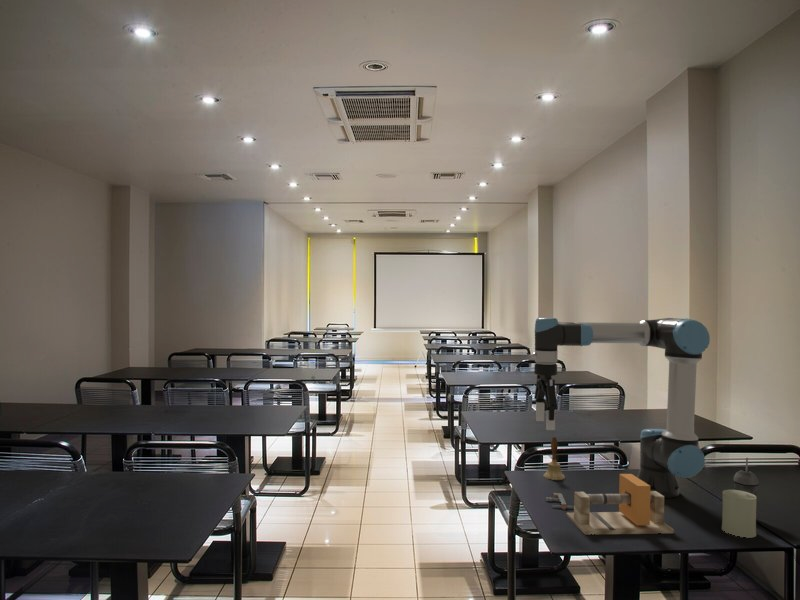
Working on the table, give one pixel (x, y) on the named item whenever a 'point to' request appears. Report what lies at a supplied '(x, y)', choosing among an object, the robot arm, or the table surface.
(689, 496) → the table surface
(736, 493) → the pale green cylinder
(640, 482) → the orange slotted block
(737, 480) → the beverage cup
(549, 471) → the hand bell
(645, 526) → the pipe rig
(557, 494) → the clamp
